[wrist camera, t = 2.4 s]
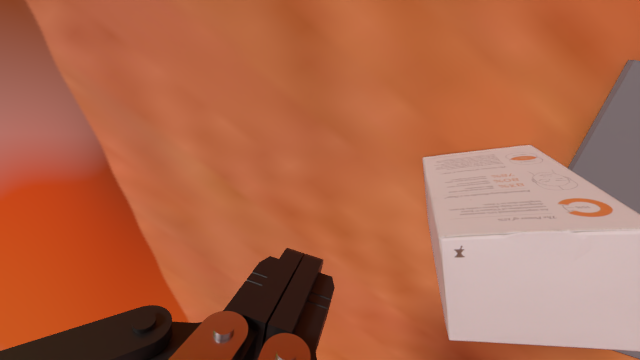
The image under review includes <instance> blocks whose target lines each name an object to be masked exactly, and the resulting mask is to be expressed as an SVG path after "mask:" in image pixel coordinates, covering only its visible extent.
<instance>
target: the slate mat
mask: <svg viewBox="0 0 640 360" xmlns="http://www.w3.org/2000/svg"><path fill="white" fill-rule="evenodd" d="M568 169H570V170H571V171H573V172H574V173H576V174H577V175H579V176H581V177H582V178H584V179H585V180H587V181H588V182H590V183H592V184H593V185H595V186H596V187H598V188H599V189H601V190H603V191H604V192H606V193H607V194H609V195H610V196H612V197H614V198H615V199H617V200H618V201H620V202H621V203H623V204H625V205H626V206H628V207H629V208H631V209H632V210H634V211H636V212H637V213H639V214H640V61H637V60H628V62H627V63H626V65H625V67H624V69H623V71H622V72H621V74H620V76H619V78H618V80H617V81H616V83H615V85H614V87H613V88H612V90H611V92H610V94H609V96H608V97H607V99H606V101H605V103H604V105H603V106H602V108H601V110H600V112H599V113H598V115H597V117H596V119H595V121H594V122H593V124H592V126H591V128H590V130H589V131H588V133H587V135H586V137H585V138H584V140H583V142H582V144H581V146H580V147H579V149H578V151H577V153H576V155H575V156H574V158H573V160H572V162H571V163H570V165H569V167H568ZM614 351H617V352H620V353H623V354H626V355H629V356H632V357H635V358H638V359H640V352H637V351H623V350H614Z"/></svg>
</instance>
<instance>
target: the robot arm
mask: <svg viewBox="0 0 640 360" xmlns="http://www.w3.org/2000/svg"><path fill="white" fill-rule="evenodd" d="M322 265H323V259H320V258H317V257H314V256H311V255H308V254H304V253H301V252H298V251H295V250H292V249H289V248H286V250H285V251H284V253H283V254H282V256H281V257H280V259H277V258H274V257H271V256H270V257H268V258H266V259H265V260H263V261H261V262H259V264H258V265H257V266H256V268H255V269H254V270H253V272H252V273H251V274H250V276H249V277H248V278H247V281H245V282H244V284H243V285H242V286H241V288H240V289H239V290H238V292H237V293H236V295H235V296H234V297H233V299H232V300H231V301H230V303H229V304H228V305H227V307H226V308H225V309H224V310H223V311H221V312H217V313H214V314H212V315H210V316H209V317H207V318H206V319H205V320H204V321H203V322H200V323H184V322H172V317H171V314H170V313H169V311H168V310H167V309H165V308H163V307H160V306H153V305H152V306H143V307H140V308H136V309H134V310H130V311H127V312H124V313H121V314H117V315H114V316H111V317H108V318H105V319H102V320H98V321H95V322H92V323H89V324H85V325H82V326H79V327H76V328H73V329H69V330H66V331H63V332H60V333H57V334H53V335H51V336H47V337H44V338H41V339H38V340H35V341H31V342H28V343H25V344H21V345H18V346H15V347H12V348H9V349H6V350H2V351H0V360H317V358H316V350H317V346H318V343H319V340H320V337H321V334H322V330H323V327H324V324H325V321H326V317H327V314H328V310H329V306H330V303H331V299H332V295H333V291H334V284H333V279H332V277H331V276H328V275H325V274H322V273H321V269H322Z"/></svg>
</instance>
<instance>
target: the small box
mask: <svg viewBox="0 0 640 360" xmlns="http://www.w3.org/2000/svg"><path fill="white" fill-rule="evenodd" d="M423 169H424V180H425V192H426V203H427V214H428V223H429V230H430V236H431V243H432V249H433V255H434V260H435V266H436V272H437V278H438V284H439V290H440V296H441V302H442V307H443V313H444V318H445V324H446V329H447V333H448V338H449V340H451V341H469V342H487V343H504V344H521V345H538V346H556V347H573V348H589V349H607V350H623V351H637V352H640V214H639V213H637V212H636V211H634V210H632V209H631V208H629V207H628V206H626V205H625V204H623V203H621V202H620V201H618V200H617V199H615V198H614V197H612V196H610V195H609V194H607V193H606V192H604V191H603V190H601V189H599V188H598V187H596V186H595V185H593V184H592V183H590V182H588V181H587V180H585V179H584V178H582V177H581V176H579V175H577V174H576V173H574V172H573V171H571V170H570V169H568V168H566V167H565V166H563V165H562V164H560V163H558V162H557V161H555V160H554V159H552V158H551V157H549V156H547V155H546V154H544V153H543V152H541V151H539V150H538V149H536V148H535V147H533V146H532V145H524V146H515V147H506V148H497V149H488V150H480V151H472V152H463V153H455V154H446V155H438V156H431V157H424V158H423Z"/></svg>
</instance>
